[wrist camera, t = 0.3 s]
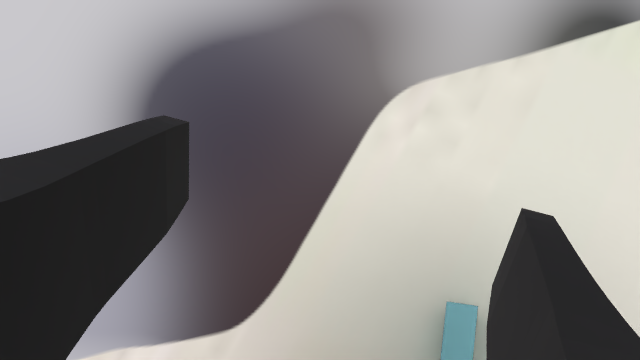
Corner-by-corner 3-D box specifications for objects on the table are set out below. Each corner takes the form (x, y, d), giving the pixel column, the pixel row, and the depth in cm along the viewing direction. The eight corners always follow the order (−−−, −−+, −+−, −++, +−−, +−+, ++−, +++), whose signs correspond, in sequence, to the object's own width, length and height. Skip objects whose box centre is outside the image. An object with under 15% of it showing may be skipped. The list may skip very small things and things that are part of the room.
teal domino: (473, 311, 39) (477, 306, 31) (466, 389, 38) (468, 405, 30) (449, 308, 40) (446, 301, 31) (441, 385, 39) (436, 399, 30)
